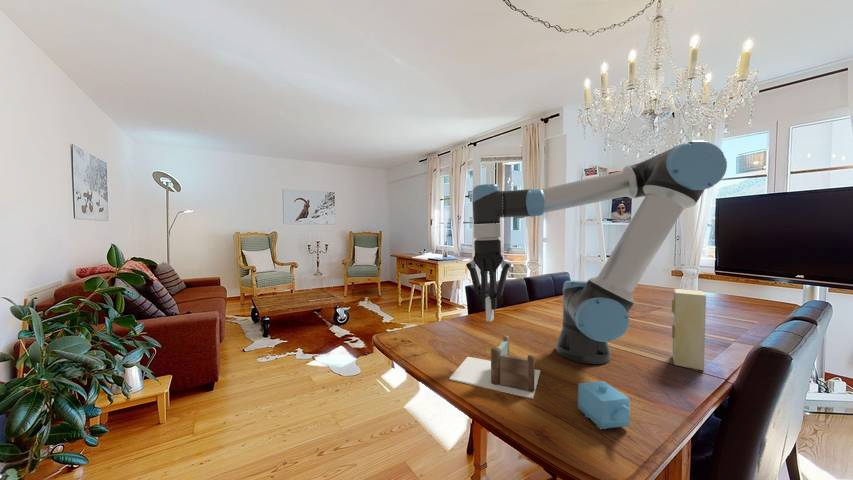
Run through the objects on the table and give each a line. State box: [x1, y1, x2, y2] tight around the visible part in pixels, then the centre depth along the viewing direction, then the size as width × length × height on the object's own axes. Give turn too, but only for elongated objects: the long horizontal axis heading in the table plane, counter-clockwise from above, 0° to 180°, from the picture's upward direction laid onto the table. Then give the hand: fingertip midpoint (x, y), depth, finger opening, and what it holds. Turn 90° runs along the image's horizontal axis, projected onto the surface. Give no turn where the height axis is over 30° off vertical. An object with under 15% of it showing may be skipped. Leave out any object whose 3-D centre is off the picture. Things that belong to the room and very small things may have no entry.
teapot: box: [577, 380, 632, 430], centre depth 64 cm, size 12×6×8 cm, turn 10°
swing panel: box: [497, 335, 510, 356], centre depth 86 cm, size 10×2×8 cm, turn 152°
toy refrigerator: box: [671, 288, 707, 371], centre depth 91 cm, size 8×7×21 cm
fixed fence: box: [490, 347, 536, 392], centre depth 78 cm, size 11×2×9 cm, turn 64°
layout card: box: [448, 356, 541, 400], centre depth 84 cm, size 21×15×1 cm
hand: (490, 319), depth 91 cm, fingers closed
